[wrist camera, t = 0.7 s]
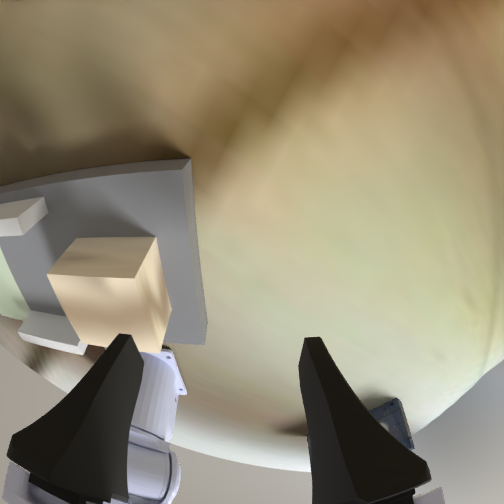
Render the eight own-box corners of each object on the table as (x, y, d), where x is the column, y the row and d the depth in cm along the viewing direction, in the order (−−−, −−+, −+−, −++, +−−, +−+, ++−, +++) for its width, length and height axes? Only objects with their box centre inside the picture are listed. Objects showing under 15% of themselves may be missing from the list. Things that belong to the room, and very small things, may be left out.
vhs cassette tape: (312, 436, 43) (318, 481, 34) (304, 434, 41) (309, 481, 33) (401, 400, 36) (415, 448, 28) (397, 396, 35) (412, 447, 27)
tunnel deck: (207, 322, 23) (200, 375, 19) (-24, 293, 22) (-42, 319, 18) (191, 158, 16) (166, 189, 11) (-60, 206, 15) (-85, 228, 10)
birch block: (171, 309, 19) (160, 353, 15) (101, 304, 19) (82, 343, 15) (156, 236, 16) (134, 278, 12) (76, 238, 15) (46, 273, 12)
